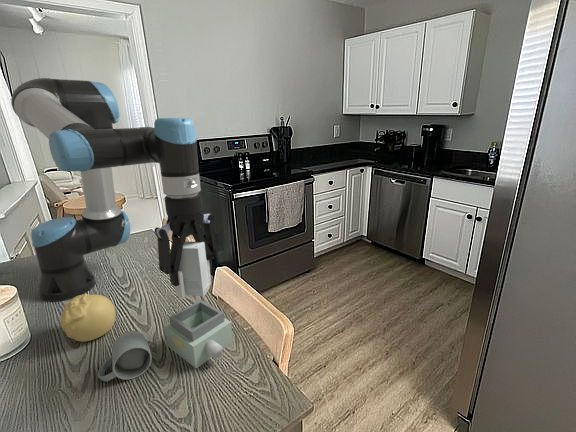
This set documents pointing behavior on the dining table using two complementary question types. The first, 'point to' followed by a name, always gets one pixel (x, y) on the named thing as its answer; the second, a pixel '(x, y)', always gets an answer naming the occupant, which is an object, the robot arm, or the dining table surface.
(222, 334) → the green open box
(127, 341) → the ceramic mug
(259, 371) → the dining table surface
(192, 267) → the skincare box
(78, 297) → the sculpture
